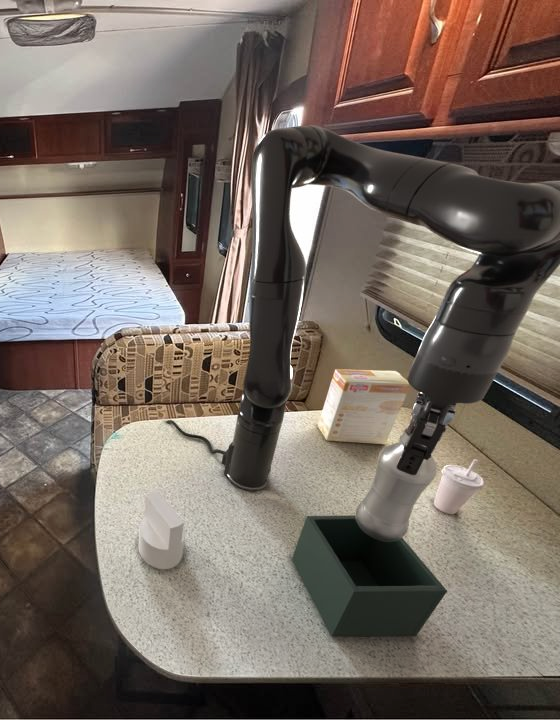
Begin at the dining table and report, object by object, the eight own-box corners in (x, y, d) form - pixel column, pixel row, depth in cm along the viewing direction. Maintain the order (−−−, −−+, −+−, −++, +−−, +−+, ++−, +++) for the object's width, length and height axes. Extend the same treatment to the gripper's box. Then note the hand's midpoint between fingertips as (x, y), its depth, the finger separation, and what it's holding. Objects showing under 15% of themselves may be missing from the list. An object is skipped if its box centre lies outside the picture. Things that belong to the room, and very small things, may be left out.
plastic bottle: (403, 555, 57) (459, 457, 48) (351, 536, 61) (393, 440, 51) (398, 524, 62) (448, 429, 53) (350, 508, 65) (389, 416, 56)
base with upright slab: (130, 539, 79) (131, 499, 73) (165, 523, 82) (169, 484, 76) (154, 576, 71) (157, 535, 66) (192, 558, 74) (198, 517, 69)
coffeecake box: (372, 429, 107) (396, 370, 98) (386, 445, 101) (413, 384, 92) (316, 425, 109) (334, 367, 100) (326, 441, 103) (346, 381, 94)
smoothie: (472, 521, 79) (503, 472, 73) (437, 517, 80) (465, 468, 74) (451, 497, 85) (479, 450, 78) (419, 494, 86) (444, 447, 79)
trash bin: (331, 636, 61) (354, 591, 55) (291, 559, 73) (306, 515, 67) (415, 636, 61) (447, 591, 55) (361, 558, 73) (383, 514, 67)
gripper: (501, 391, 40) (438, 502, 47) (499, 346, 49) (446, 445, 56) (411, 370, 44) (367, 474, 52) (424, 332, 53) (385, 425, 61)
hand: (408, 458), depth 54 cm, fingers closed on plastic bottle, 6 cm apart
